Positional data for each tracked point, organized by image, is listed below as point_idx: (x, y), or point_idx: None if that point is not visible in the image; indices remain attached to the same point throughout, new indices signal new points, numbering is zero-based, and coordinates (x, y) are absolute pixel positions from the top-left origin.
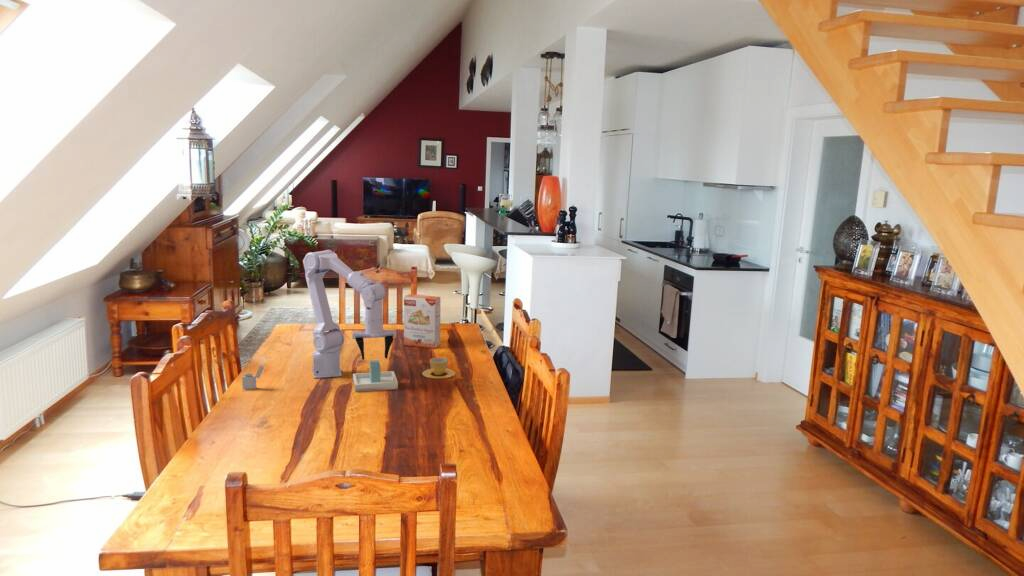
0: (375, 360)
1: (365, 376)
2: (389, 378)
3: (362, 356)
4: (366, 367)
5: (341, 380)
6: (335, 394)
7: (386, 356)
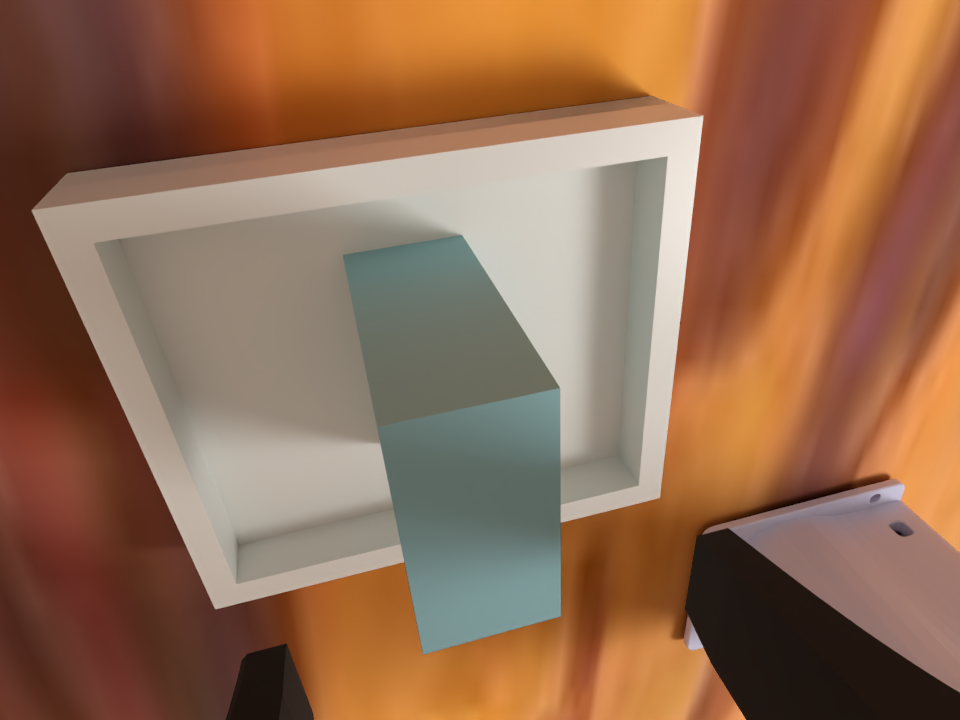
0: (469, 626)
1: None
2: (250, 474)
3: (774, 571)
4: (492, 711)
5: (717, 450)
6: (873, 33)
7: (257, 684)
